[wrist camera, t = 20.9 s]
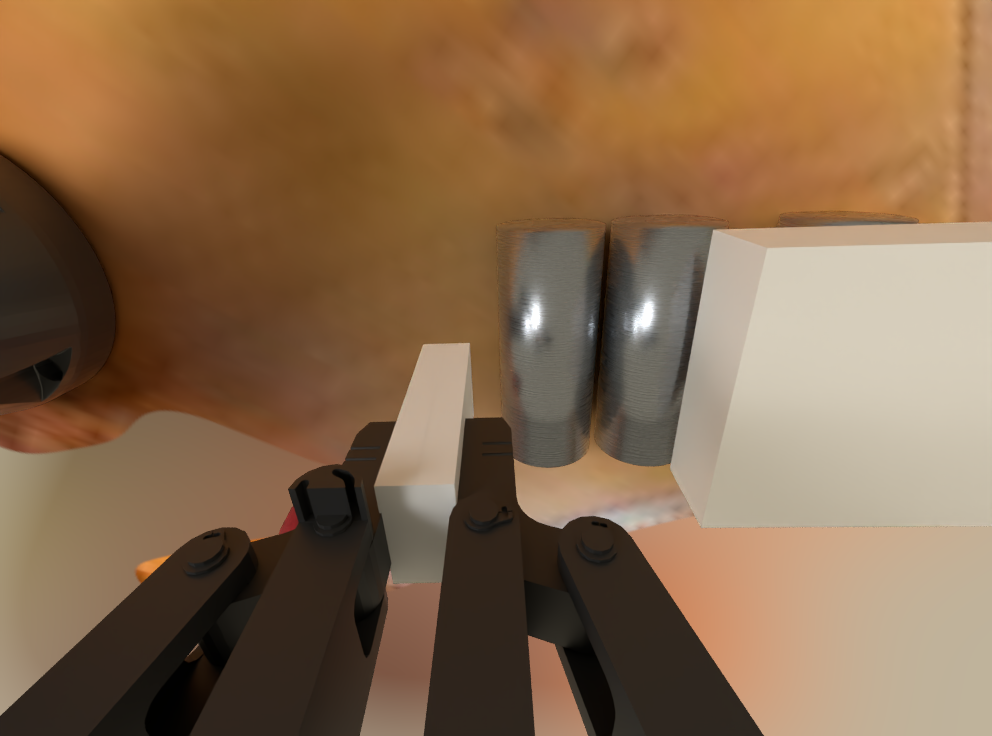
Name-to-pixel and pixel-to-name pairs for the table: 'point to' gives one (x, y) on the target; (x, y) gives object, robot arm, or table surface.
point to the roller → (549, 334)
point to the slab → (841, 379)
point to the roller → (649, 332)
